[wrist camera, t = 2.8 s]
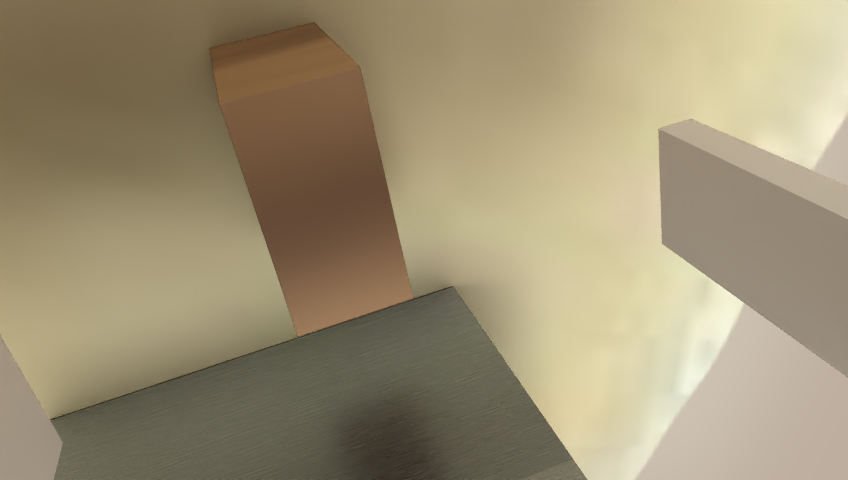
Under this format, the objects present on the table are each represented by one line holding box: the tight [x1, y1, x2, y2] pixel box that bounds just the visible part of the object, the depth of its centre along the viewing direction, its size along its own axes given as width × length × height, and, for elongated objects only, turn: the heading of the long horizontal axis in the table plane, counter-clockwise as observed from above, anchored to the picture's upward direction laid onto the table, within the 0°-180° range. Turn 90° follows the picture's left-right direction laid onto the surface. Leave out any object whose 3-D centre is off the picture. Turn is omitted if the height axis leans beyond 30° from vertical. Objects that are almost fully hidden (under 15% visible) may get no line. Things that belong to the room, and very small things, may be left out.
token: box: [209, 22, 413, 337], centre depth 19 cm, size 6×3×6 cm, turn 11°
